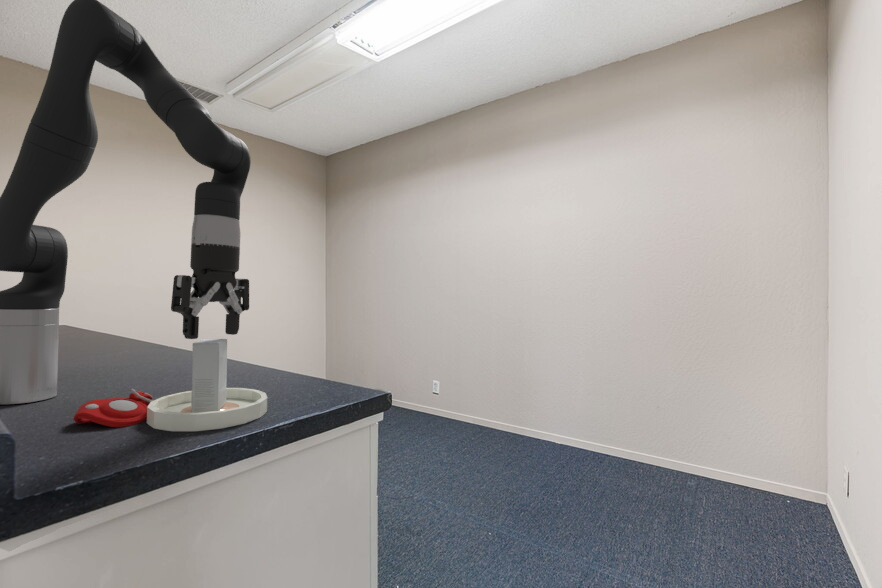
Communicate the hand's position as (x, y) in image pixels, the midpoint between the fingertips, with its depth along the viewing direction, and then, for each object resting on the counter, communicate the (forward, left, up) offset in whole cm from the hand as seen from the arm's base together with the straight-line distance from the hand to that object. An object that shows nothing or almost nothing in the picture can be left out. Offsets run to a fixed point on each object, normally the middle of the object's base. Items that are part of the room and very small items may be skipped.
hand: (212, 336), depth 73 cm
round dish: (0, 0, -14) cm, 14 cm away
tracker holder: (-11, -7, -14) cm, 19 cm away
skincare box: (0, 0, -13) cm, 13 cm away
